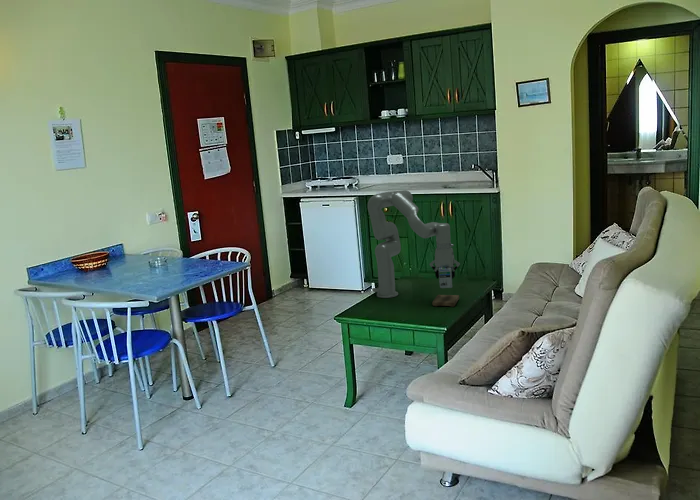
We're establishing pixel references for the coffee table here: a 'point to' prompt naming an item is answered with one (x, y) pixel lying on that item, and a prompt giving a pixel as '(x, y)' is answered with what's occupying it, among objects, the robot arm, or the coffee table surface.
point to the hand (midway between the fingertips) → (445, 277)
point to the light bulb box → (445, 277)
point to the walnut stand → (445, 300)
